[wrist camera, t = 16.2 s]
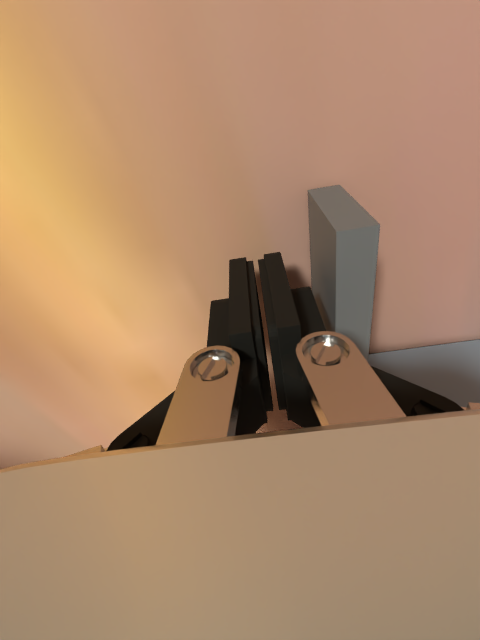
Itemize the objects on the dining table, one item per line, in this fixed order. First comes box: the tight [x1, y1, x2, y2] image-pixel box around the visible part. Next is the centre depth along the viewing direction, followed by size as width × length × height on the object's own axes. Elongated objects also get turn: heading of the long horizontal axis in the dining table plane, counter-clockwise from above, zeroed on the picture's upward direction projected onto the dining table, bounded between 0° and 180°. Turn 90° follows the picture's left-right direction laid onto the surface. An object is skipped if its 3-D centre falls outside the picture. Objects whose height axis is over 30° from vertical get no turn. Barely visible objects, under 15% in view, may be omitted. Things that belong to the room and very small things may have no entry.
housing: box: [308, 185, 480, 407], centre depth 16 cm, size 11×23×4 cm, turn 9°
